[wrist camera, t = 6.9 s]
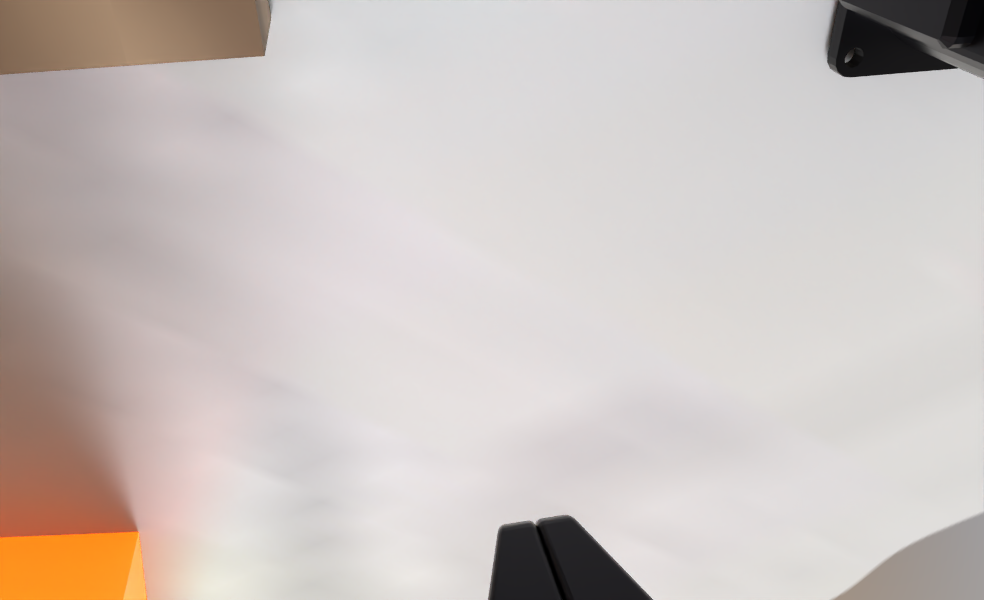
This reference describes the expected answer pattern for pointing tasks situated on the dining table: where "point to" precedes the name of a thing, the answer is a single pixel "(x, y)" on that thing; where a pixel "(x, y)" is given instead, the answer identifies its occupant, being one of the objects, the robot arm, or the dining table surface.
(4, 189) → the dining table surface
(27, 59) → the socket block
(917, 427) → the dining table surface
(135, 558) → the orange juice
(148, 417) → the dining table surface
